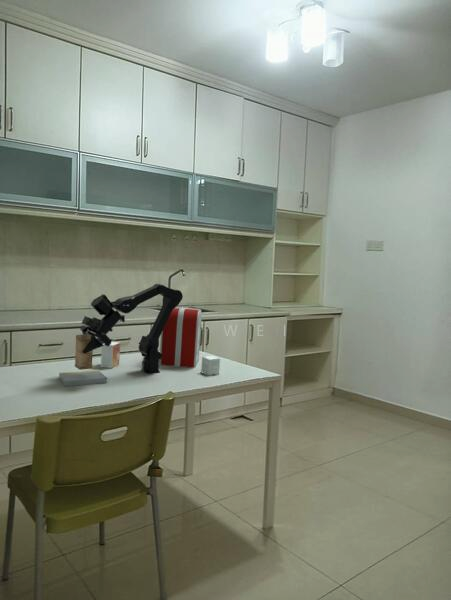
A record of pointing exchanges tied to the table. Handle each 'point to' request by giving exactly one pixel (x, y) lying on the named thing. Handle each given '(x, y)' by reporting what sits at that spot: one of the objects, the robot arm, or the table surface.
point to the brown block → (80, 358)
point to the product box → (210, 365)
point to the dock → (82, 378)
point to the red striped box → (181, 338)
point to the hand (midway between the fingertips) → (80, 351)
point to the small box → (110, 355)
